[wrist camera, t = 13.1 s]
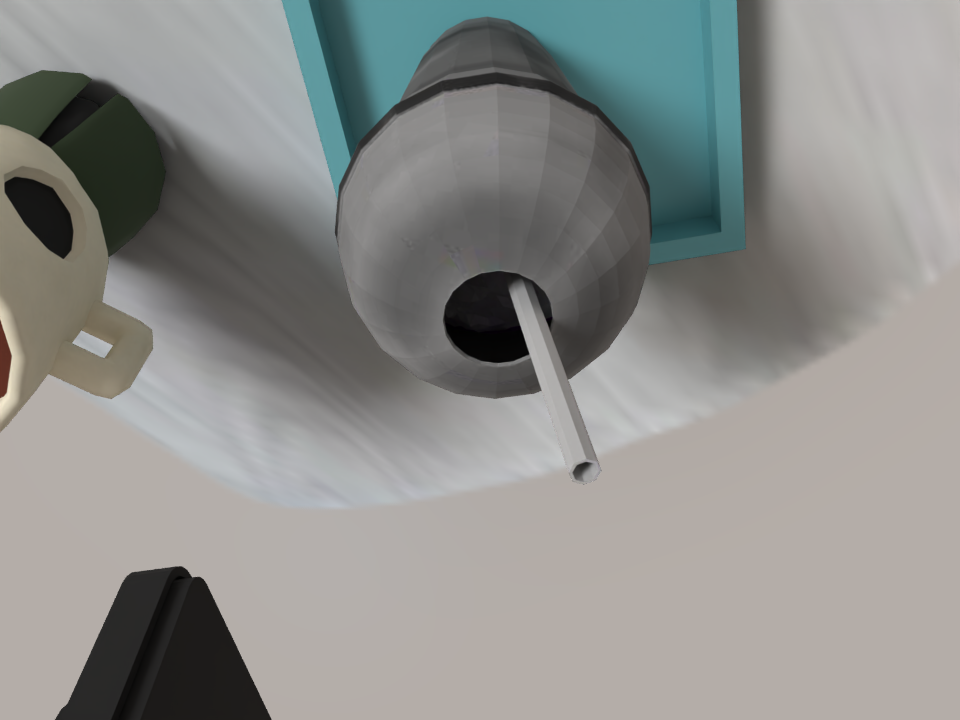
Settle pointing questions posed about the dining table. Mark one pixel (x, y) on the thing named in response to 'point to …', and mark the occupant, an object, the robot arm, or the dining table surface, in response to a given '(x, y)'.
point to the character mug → (68, 234)
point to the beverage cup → (496, 226)
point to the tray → (590, 70)
